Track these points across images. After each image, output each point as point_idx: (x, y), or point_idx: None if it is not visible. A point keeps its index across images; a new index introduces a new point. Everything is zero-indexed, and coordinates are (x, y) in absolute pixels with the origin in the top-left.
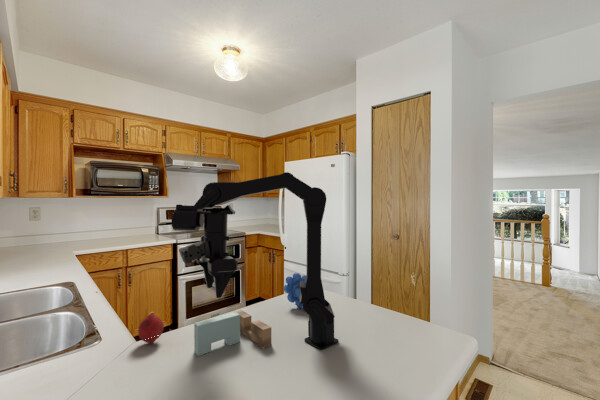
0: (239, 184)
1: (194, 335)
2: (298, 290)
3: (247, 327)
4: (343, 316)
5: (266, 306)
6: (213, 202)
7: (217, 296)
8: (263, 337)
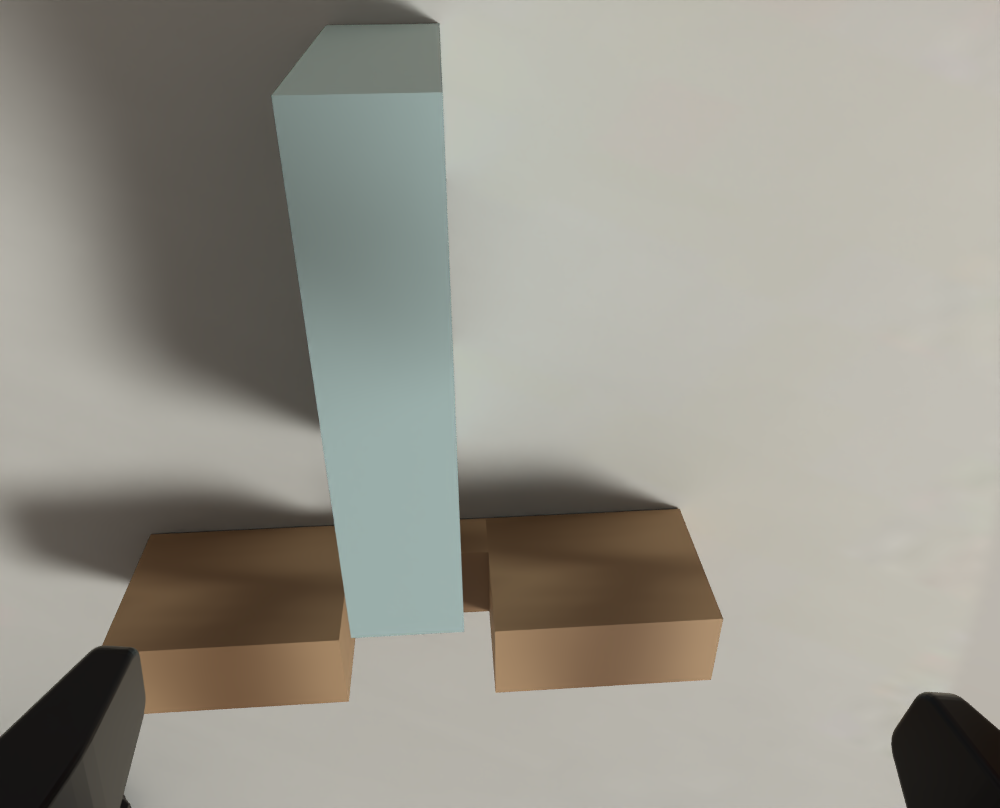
0: None
1: (434, 55)
2: None
3: (489, 582)
4: None
5: (831, 804)
6: None
7: (76, 678)
8: (124, 599)
